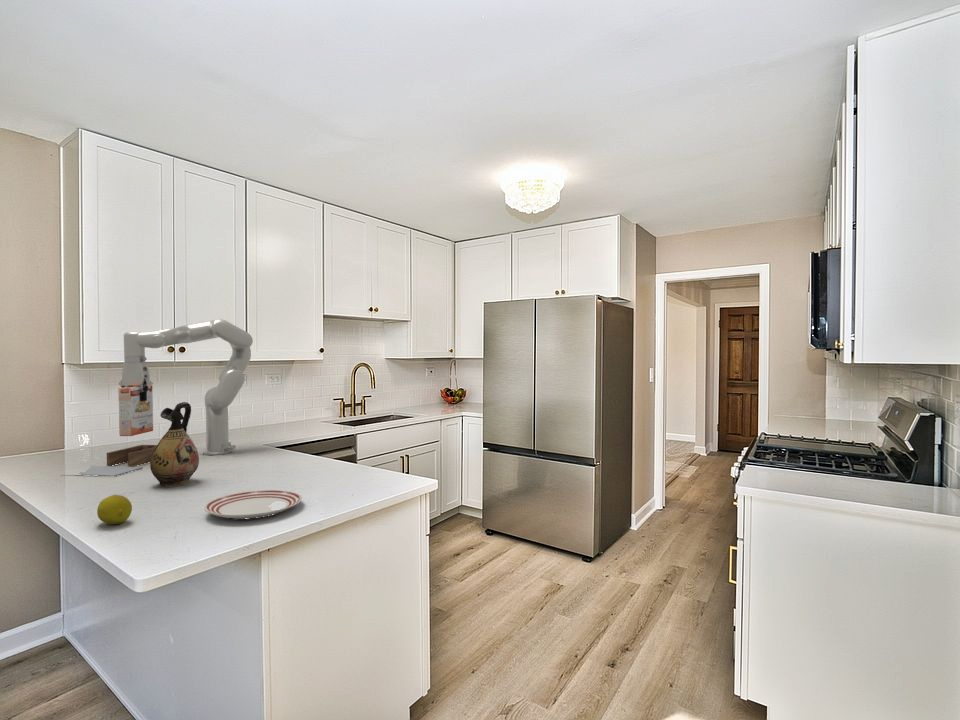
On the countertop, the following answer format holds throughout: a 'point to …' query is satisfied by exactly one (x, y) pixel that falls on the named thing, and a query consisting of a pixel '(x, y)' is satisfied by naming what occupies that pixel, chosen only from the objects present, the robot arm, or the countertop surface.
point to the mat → (109, 470)
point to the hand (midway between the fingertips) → (136, 400)
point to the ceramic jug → (175, 450)
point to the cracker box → (135, 411)
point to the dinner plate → (251, 503)
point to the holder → (131, 455)
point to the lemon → (114, 509)
